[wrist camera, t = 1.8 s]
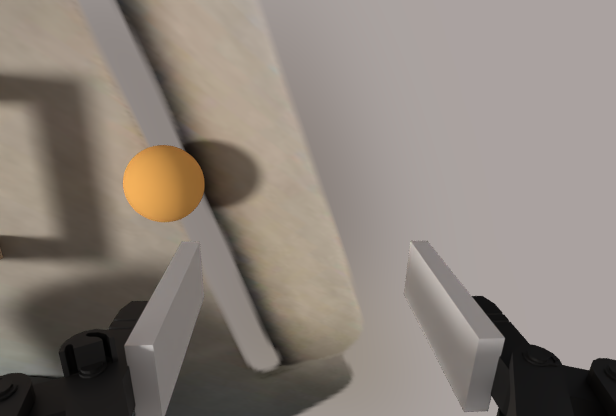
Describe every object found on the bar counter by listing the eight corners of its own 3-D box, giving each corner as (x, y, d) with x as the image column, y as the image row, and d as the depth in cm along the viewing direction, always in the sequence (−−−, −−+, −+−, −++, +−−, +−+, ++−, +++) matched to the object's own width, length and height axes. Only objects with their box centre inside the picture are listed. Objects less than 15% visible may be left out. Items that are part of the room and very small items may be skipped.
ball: (212, 206, 33) (199, 234, 27) (142, 206, 32) (116, 234, 27) (208, 139, 31) (193, 155, 26) (134, 138, 30) (104, 154, 25)
